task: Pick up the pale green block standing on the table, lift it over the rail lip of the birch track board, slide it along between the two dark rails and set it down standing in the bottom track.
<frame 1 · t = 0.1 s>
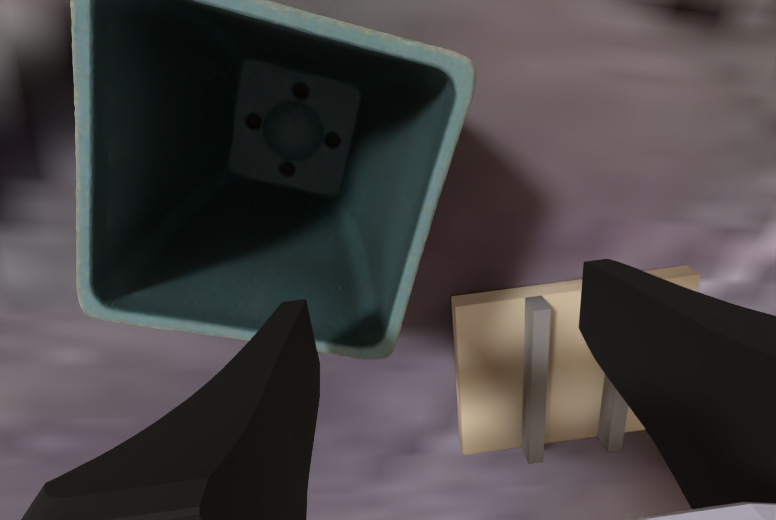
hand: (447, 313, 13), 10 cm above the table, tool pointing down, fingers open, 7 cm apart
flower pot: (297, 127, 20), on the table
track board: (564, 360, 26), on the table
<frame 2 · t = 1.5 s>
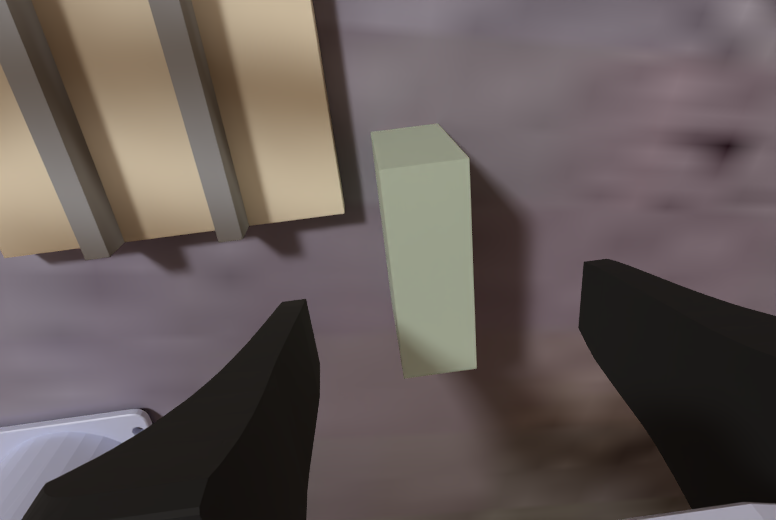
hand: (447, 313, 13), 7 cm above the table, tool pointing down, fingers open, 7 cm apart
pale green block: (412, 218, 19), on the table
track board: (138, 83, 16), on the table
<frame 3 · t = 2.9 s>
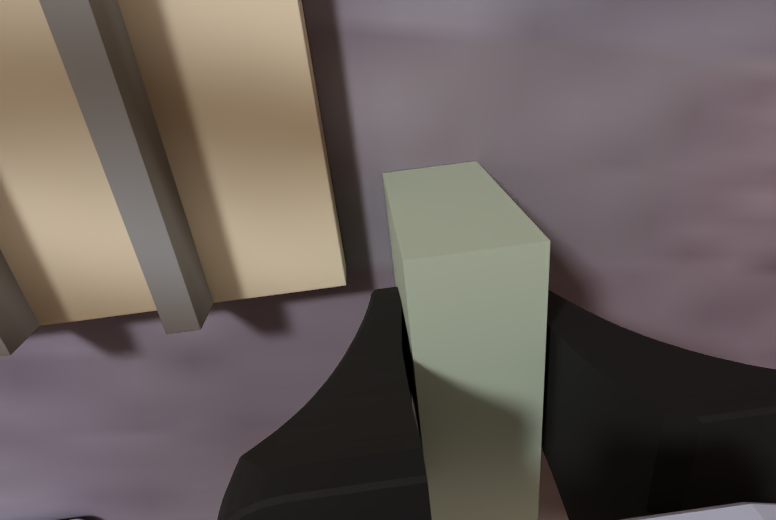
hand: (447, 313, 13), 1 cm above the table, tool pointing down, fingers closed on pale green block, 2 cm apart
pale green block: (438, 286, 14), on the table, touching gripper
track board: (50, 107, 11), on the table
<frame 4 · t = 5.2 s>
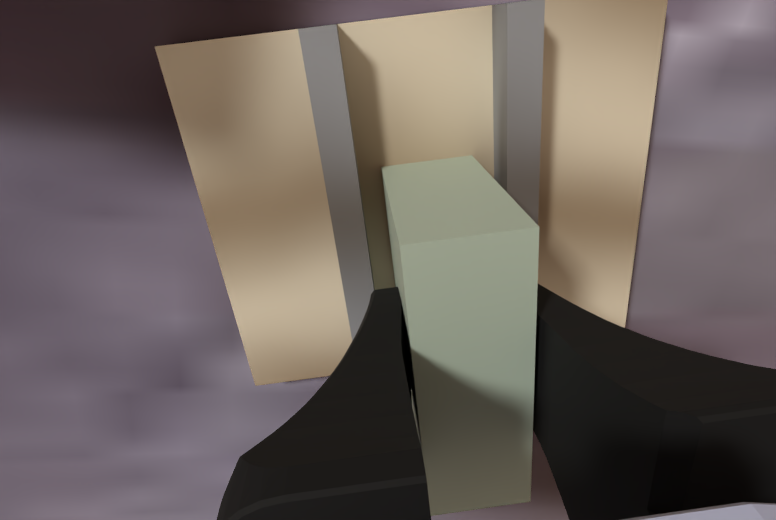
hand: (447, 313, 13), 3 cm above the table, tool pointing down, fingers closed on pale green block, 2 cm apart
pale green block: (435, 277, 14), point 1 cm above the table, touching gripper, track board
track board: (424, 204, 14), on the table
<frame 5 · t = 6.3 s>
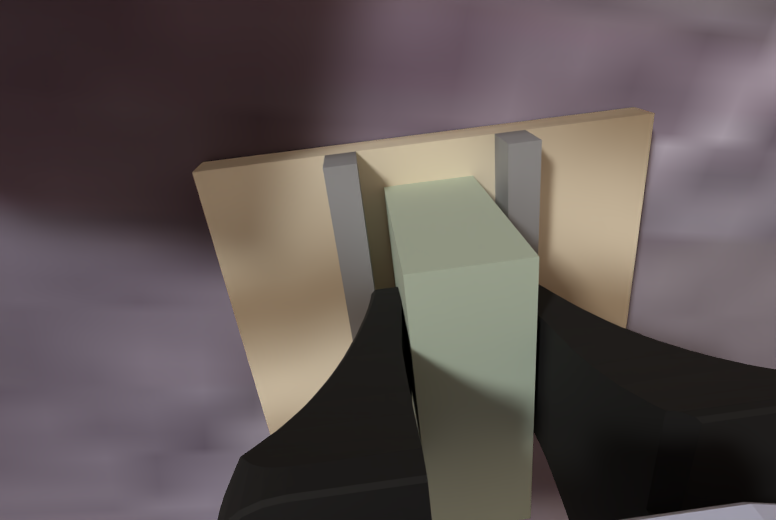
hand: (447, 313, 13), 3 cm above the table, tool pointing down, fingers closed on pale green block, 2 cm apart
pale green block: (436, 293, 14), point 1 cm above the table, touching gripper, track board
track board: (432, 290, 16), on the table
when the fingers open (3 cm above the table, at t = 6.6 s): pale green block stays where it is, resting on track board.
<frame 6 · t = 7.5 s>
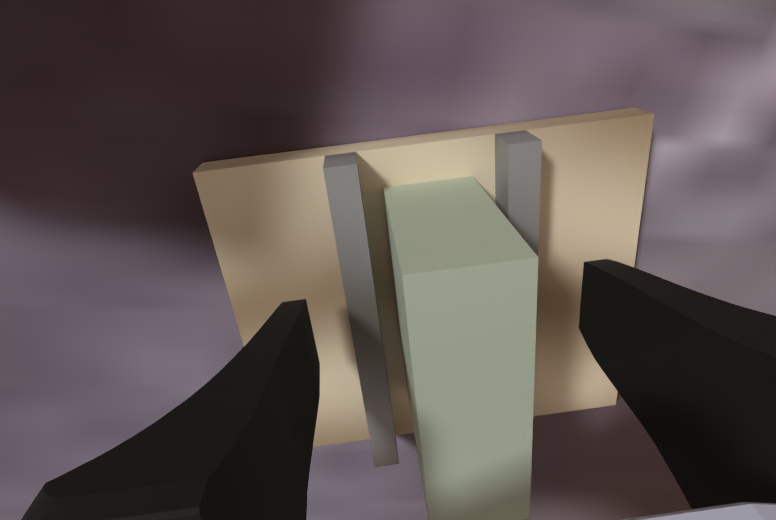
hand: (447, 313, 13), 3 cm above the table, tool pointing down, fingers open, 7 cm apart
pale green block: (436, 294, 14), point 1 cm above the table, touching track board
track board: (432, 290, 16), on the table
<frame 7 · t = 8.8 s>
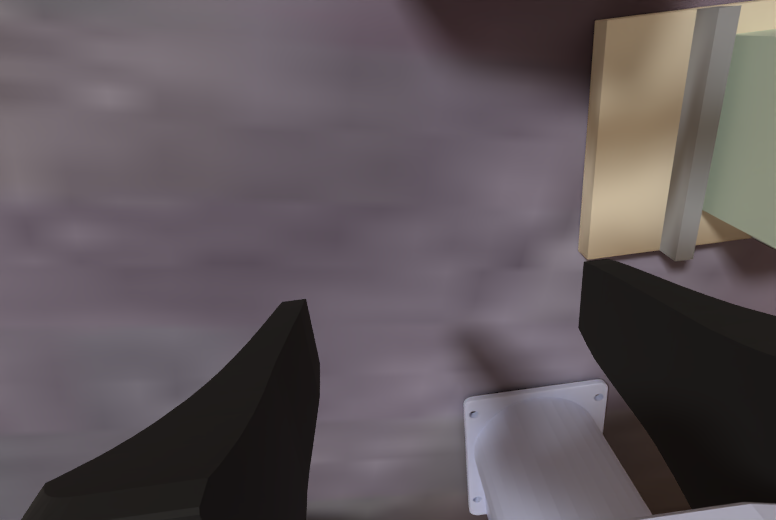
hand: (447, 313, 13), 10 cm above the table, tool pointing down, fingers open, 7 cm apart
pale green block: (738, 123, 20), point 1 cm above the table, touching track board
track board: (720, 130, 21), on the table
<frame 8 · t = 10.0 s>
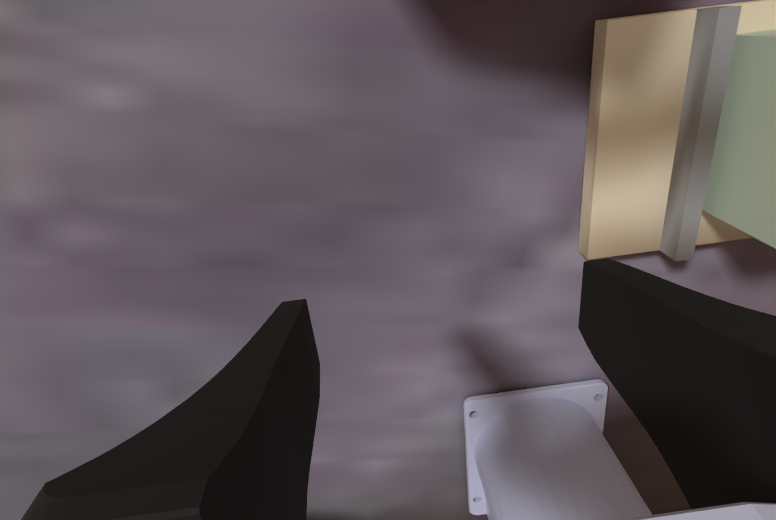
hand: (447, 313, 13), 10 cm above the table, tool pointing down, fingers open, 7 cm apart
pale green block: (739, 123, 20), point 1 cm above the table, touching track board
track board: (720, 130, 21), on the table
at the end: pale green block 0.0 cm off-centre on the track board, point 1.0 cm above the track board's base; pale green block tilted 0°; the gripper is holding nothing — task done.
